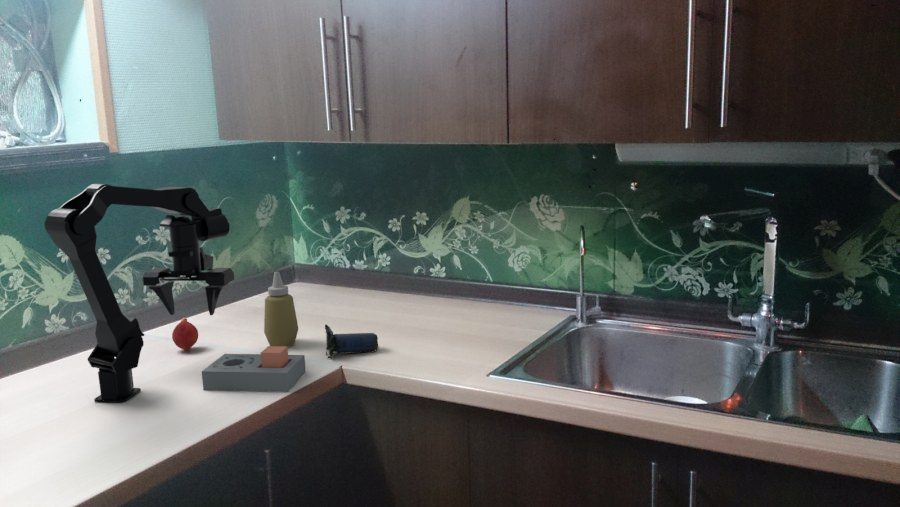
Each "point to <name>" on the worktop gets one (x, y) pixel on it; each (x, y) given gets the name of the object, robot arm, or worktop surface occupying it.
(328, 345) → the flanged blue cylinder
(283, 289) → the squeeze bottle
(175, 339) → the onion
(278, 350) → the square peg
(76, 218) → the robot arm
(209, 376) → the socket block
